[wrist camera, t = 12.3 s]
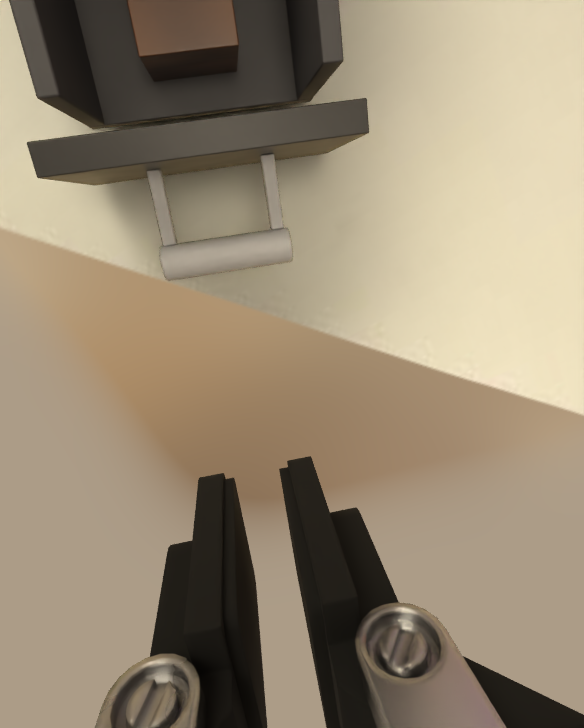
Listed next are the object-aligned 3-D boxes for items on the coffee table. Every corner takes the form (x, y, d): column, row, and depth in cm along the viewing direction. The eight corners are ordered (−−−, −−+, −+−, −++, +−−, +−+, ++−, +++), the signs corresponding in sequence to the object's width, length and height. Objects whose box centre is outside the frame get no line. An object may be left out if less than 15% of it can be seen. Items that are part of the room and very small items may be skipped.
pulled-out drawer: (336, 243, 27) (378, 259, 19) (118, 277, 26) (76, 307, 18) (291, -212, 20) (329, -449, 13) (-6, -190, 19) (-149, -434, 12)
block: (153, 81, 22) (138, 57, 18) (132, -21, 21) (111, -70, 17) (237, 71, 22) (239, 45, 18) (221, -30, 21) (220, -81, 17)
